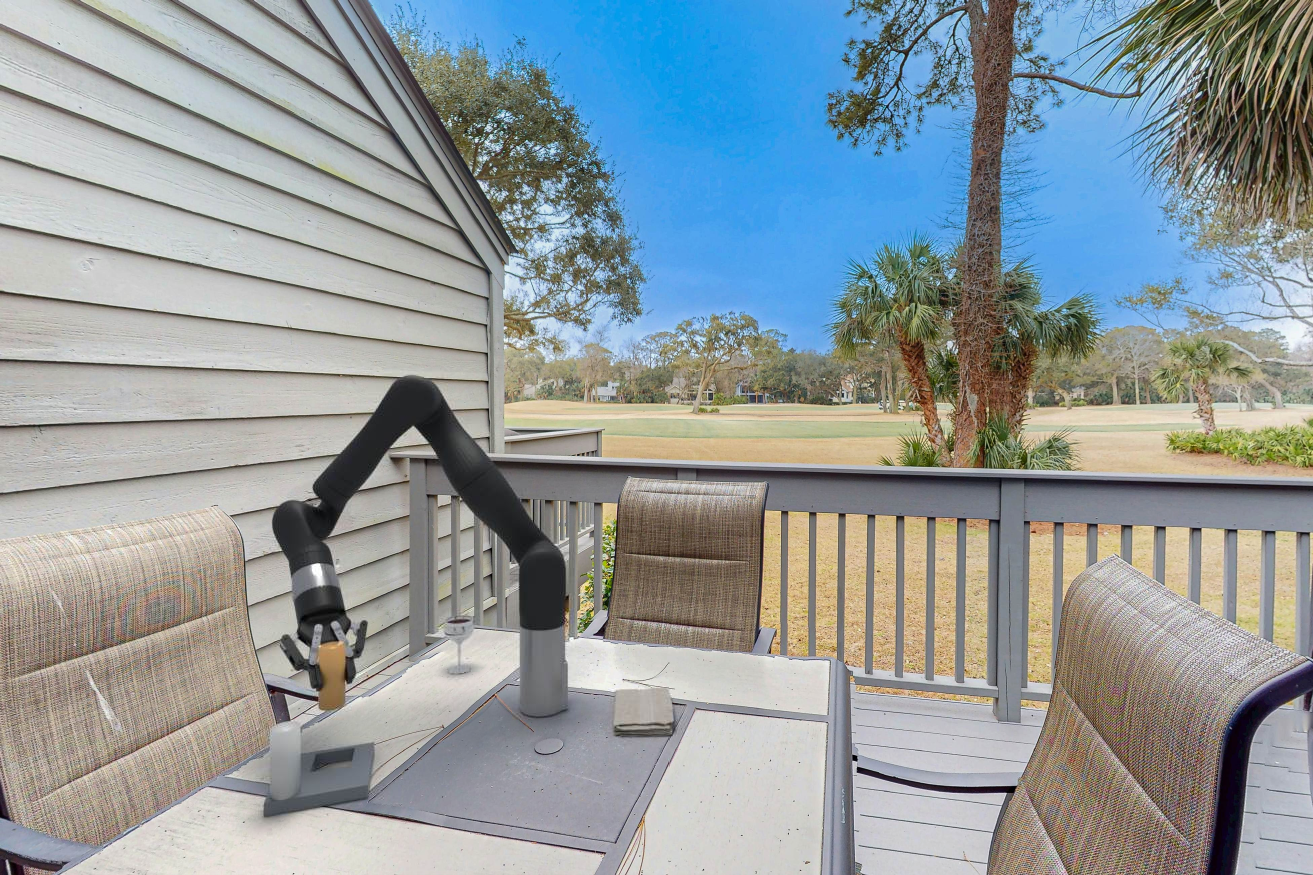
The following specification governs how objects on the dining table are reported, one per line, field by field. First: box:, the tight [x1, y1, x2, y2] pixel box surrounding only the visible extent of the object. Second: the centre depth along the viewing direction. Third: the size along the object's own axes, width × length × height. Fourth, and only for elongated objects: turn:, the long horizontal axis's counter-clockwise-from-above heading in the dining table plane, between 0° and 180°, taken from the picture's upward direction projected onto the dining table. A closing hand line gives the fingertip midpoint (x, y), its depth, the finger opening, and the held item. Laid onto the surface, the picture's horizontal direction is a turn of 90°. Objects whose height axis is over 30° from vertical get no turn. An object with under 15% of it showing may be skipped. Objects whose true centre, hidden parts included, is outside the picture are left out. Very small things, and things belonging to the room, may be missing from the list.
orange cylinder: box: [317, 642, 346, 712], centre depth 105 cm, size 4×4×10 cm
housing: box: [263, 720, 375, 818], centre depth 102 cm, size 14×14×12 cm
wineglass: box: [443, 614, 475, 675], centre depth 148 cm, size 7×7×12 cm
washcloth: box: [612, 687, 675, 738], centre depth 126 cm, size 12×18×3 cm, turn 4°
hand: (335, 684), depth 103 cm, fingers closed on orange cylinder, 4 cm apart
